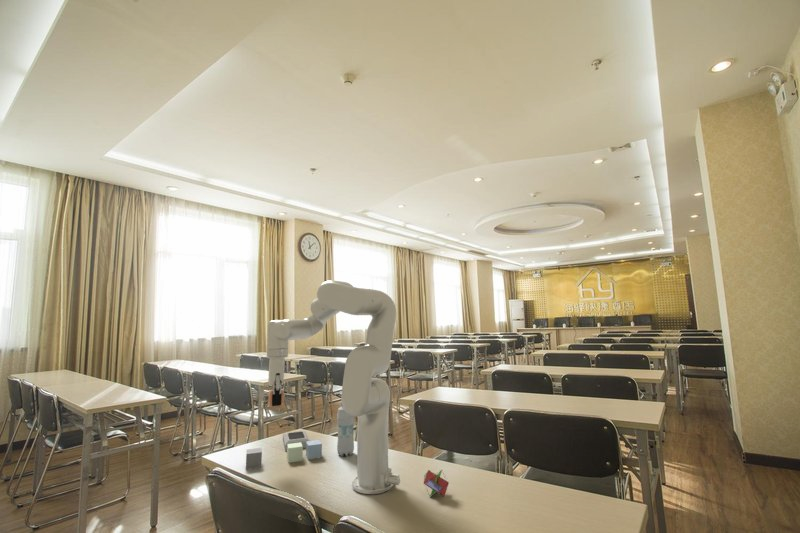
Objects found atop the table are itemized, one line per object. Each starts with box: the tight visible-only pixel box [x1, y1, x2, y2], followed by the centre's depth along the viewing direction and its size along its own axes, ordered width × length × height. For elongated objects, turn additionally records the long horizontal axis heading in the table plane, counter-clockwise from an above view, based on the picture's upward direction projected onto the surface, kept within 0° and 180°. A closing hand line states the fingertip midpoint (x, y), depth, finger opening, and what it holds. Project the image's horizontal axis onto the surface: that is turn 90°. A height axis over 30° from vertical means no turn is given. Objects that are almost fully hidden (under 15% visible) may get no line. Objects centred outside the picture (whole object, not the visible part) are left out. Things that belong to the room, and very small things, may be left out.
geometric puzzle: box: [423, 469, 450, 497], centre depth 107 cm, size 7×7×8 cm
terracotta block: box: [268, 388, 285, 408], centre depth 136 cm, size 5×5×5 cm
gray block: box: [245, 447, 263, 470], centre depth 131 cm, size 5×5×5 cm
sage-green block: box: [286, 442, 304, 464], centre depth 136 cm, size 5×5×5 cm
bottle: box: [336, 401, 355, 457], centre depth 141 cm, size 7×7×20 cm
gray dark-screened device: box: [282, 430, 310, 452], centre depth 154 cm, size 10×4×15 cm
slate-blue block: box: [305, 439, 323, 460], centre depth 138 cm, size 5×5×5 cm
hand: (276, 403), depth 136 cm, fingers closed on terracotta block, 4 cm apart
